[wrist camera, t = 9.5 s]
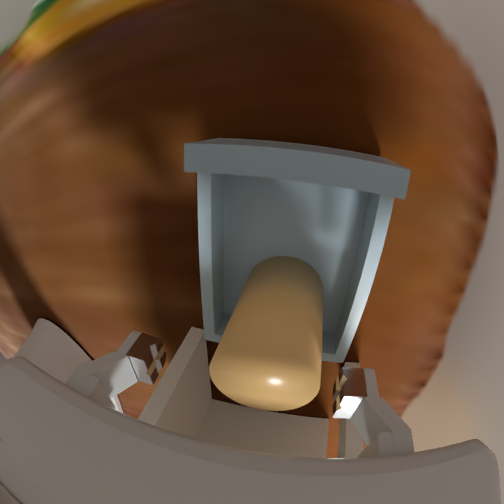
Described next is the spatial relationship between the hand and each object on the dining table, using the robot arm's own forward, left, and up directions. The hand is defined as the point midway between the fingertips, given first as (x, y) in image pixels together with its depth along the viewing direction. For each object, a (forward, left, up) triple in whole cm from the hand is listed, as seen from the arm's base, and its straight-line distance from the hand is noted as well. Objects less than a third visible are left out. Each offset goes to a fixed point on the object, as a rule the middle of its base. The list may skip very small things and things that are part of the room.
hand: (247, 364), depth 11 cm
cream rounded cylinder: (0, -1, -6) cm, 6 cm away
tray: (+3, -1, -7) cm, 8 cm away
